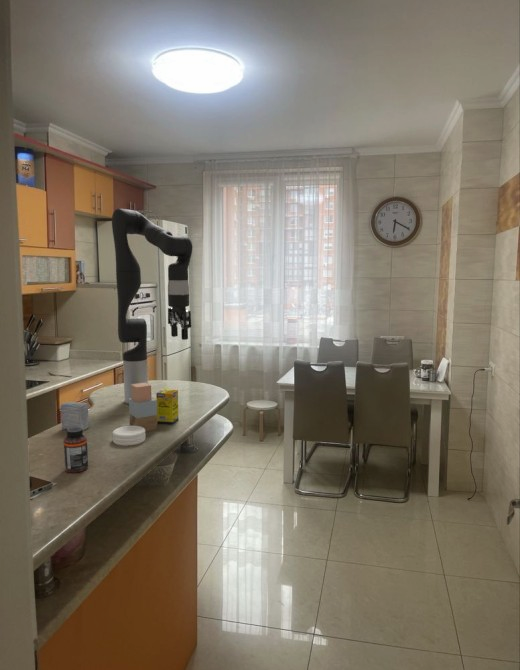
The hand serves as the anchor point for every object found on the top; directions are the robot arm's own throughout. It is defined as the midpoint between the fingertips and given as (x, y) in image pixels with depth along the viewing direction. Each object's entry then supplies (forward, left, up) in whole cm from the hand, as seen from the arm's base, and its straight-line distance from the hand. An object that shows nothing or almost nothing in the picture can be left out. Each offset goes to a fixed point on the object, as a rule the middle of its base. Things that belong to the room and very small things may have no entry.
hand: (179, 338), depth 190 cm
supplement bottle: (+31, -46, -28) cm, 62 cm away
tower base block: (+8, -18, -28) cm, 34 cm away
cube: (+8, -18, -18) cm, 27 cm away
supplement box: (+6, -8, -28) cm, 30 cm away
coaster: (+17, -26, -28) cm, 42 cm away
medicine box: (-4, -37, -28) cm, 47 cm away
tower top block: (+8, -18, -23) cm, 30 cm away
